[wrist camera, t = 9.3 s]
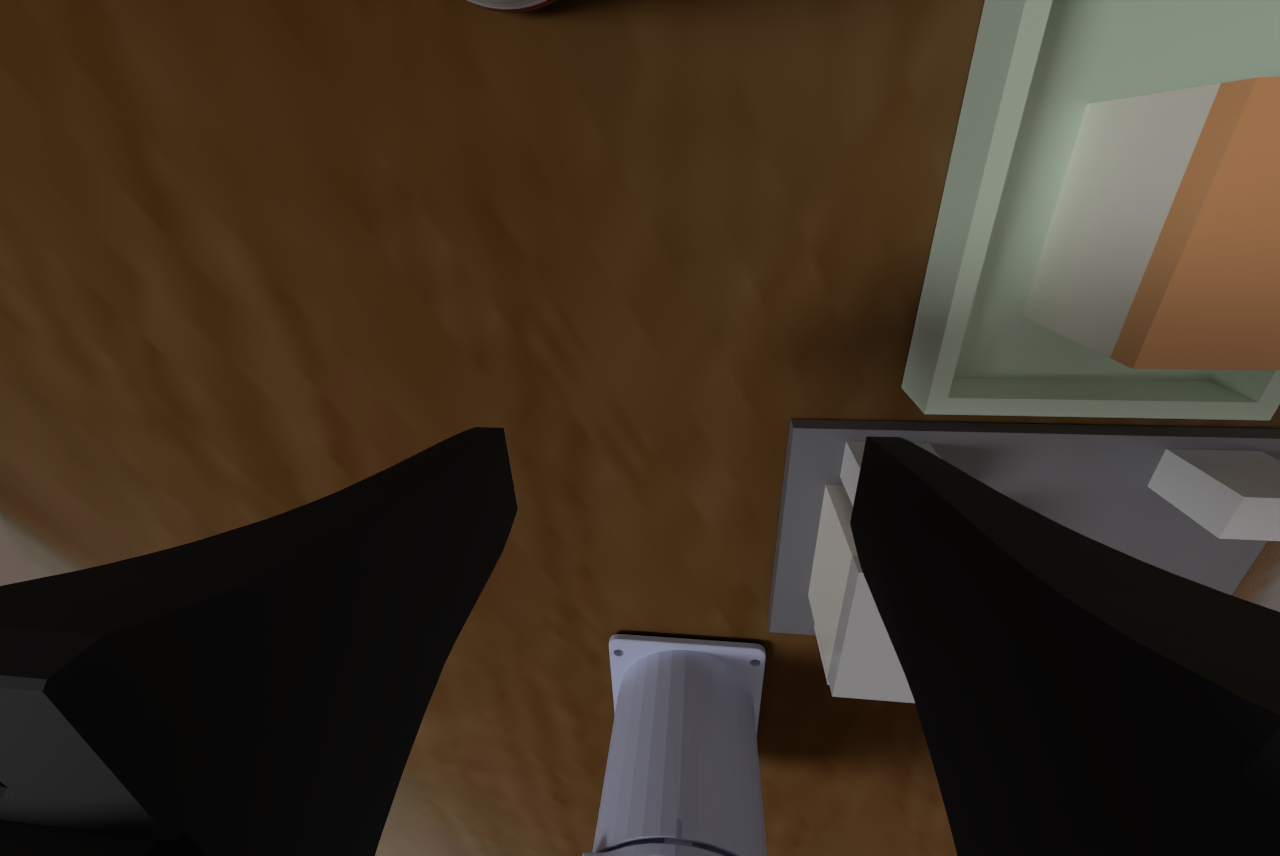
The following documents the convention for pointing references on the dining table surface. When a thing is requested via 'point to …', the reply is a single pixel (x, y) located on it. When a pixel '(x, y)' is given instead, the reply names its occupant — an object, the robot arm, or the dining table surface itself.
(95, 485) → the dining table surface
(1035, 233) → the tray
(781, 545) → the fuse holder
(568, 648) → the dining table surface
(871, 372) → the dining table surface
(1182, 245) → the block
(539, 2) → the soda can
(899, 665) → the block
